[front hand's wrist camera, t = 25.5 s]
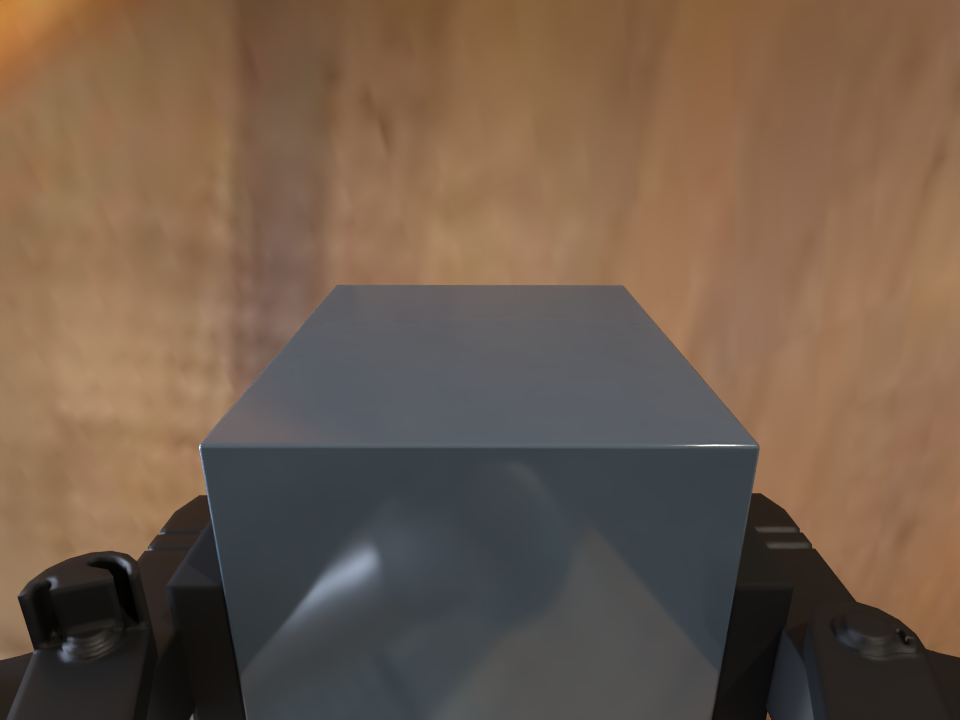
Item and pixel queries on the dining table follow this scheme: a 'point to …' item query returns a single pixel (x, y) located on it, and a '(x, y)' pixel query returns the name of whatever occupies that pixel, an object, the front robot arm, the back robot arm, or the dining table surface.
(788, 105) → the dining table surface
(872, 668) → the front robot arm
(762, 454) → the dining table surface
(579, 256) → the dining table surface
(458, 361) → the cube
